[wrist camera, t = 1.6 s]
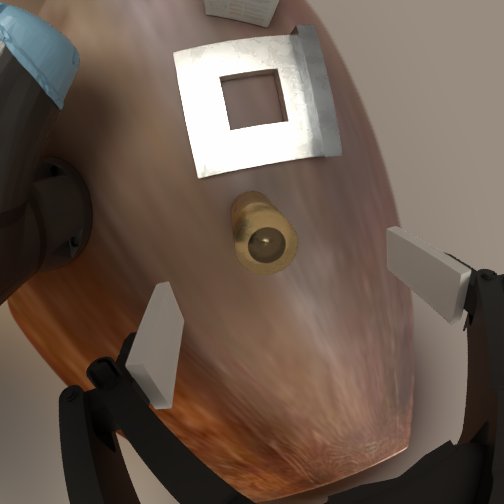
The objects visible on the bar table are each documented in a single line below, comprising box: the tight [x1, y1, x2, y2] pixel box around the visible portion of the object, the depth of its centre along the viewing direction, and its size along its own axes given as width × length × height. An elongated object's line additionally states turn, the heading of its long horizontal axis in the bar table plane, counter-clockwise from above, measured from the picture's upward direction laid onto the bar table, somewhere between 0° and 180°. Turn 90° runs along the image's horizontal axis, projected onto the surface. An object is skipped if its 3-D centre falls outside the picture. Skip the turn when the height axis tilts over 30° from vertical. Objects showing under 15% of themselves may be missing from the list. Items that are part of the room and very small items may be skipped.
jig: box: [173, 25, 342, 178], centre depth 25 cm, size 15×15×6 cm
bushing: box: [231, 191, 298, 275], centre depth 27 cm, size 5×5×12 cm
